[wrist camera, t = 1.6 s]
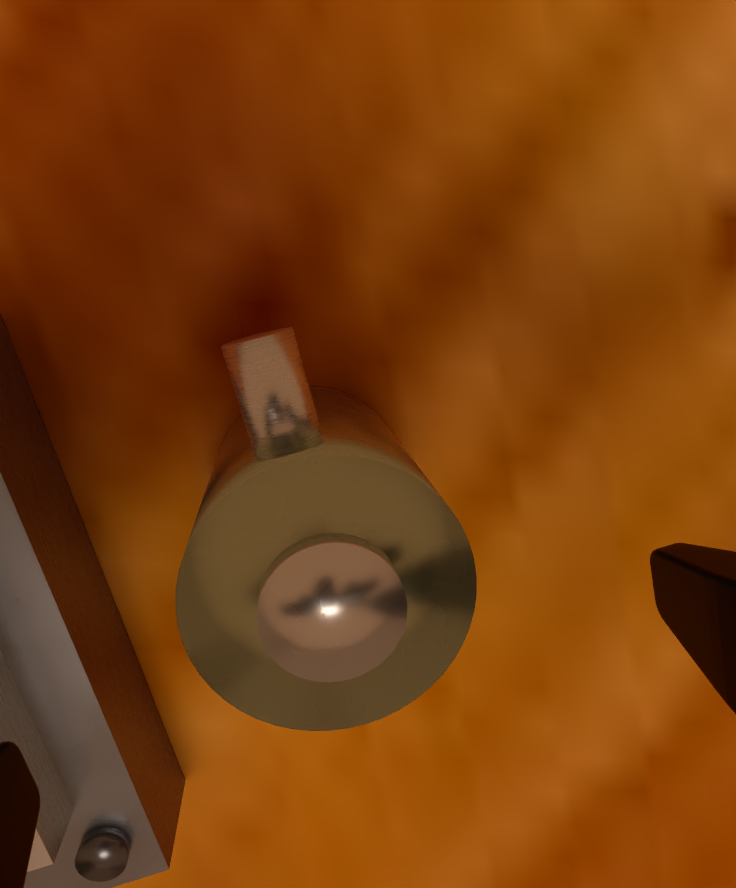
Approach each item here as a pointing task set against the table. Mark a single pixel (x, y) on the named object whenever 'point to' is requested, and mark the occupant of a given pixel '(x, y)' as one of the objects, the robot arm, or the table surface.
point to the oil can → (318, 556)
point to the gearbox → (73, 676)
